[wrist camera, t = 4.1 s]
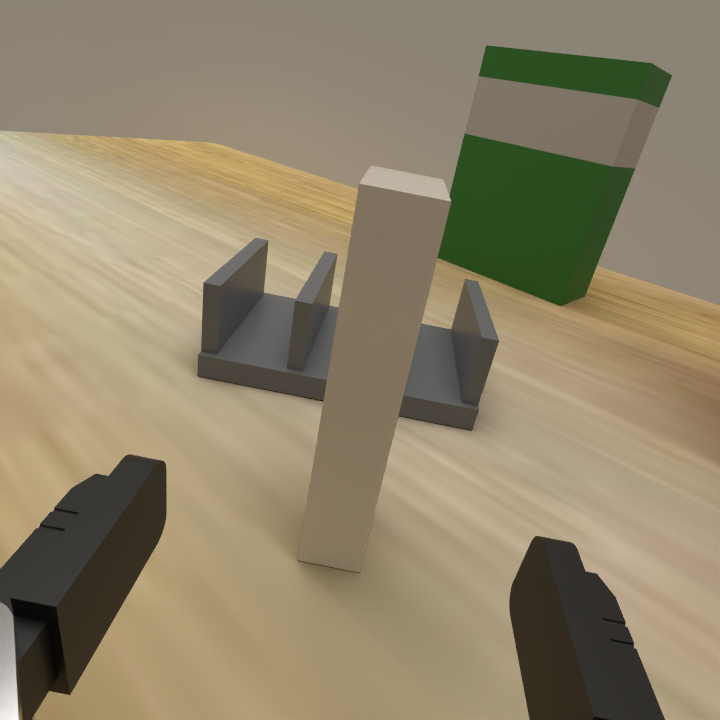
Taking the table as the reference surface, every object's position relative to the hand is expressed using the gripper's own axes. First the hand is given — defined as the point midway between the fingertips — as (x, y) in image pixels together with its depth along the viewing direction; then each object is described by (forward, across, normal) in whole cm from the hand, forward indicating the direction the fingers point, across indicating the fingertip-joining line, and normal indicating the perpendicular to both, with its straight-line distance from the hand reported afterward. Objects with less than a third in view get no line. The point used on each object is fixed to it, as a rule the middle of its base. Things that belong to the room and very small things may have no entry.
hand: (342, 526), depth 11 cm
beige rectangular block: (+9, 0, +9) cm, 13 cm away
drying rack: (+25, +2, +9) cm, 27 cm away
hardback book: (+56, -16, +9) cm, 59 cm away
